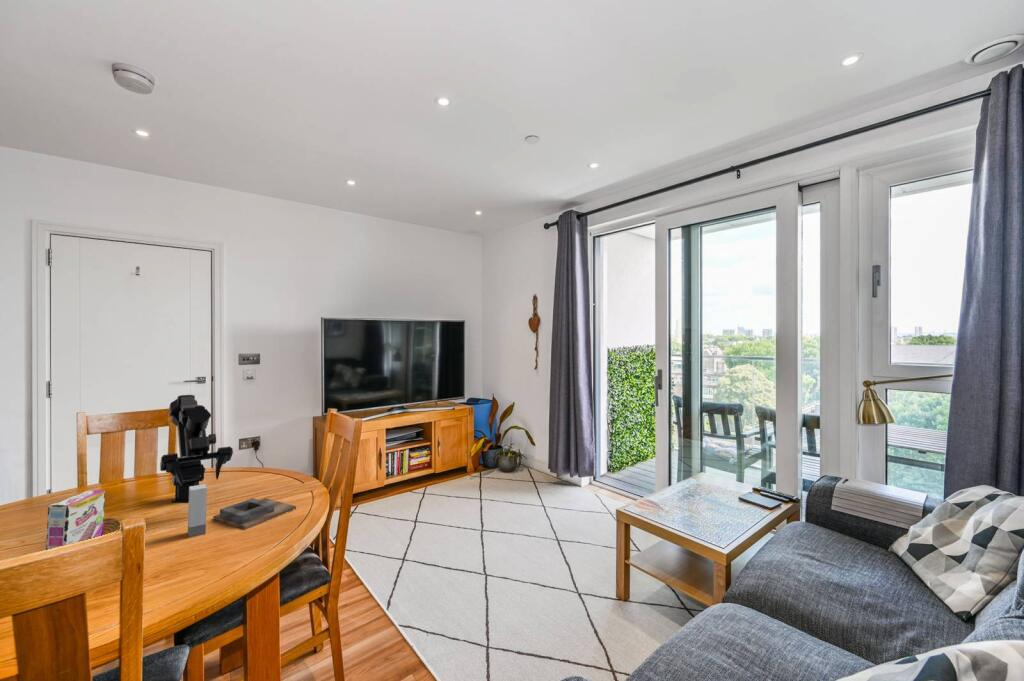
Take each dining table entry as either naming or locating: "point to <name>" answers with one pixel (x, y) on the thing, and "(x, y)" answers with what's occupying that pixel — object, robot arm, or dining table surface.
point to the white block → (197, 510)
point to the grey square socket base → (252, 512)
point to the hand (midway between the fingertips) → (200, 481)
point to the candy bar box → (75, 519)
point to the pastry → (110, 525)
